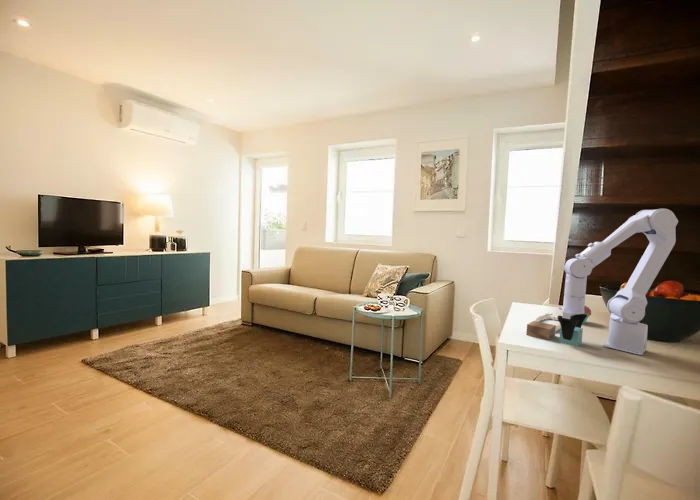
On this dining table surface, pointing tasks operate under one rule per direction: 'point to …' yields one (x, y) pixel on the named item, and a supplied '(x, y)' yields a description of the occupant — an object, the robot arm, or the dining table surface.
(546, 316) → the white curved loop
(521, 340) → the dining table surface
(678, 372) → the dining table surface
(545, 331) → the walnut block
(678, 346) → the dining table surface
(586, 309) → the cupcake
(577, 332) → the teal cube
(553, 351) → the dining table surface
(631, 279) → the robot arm
